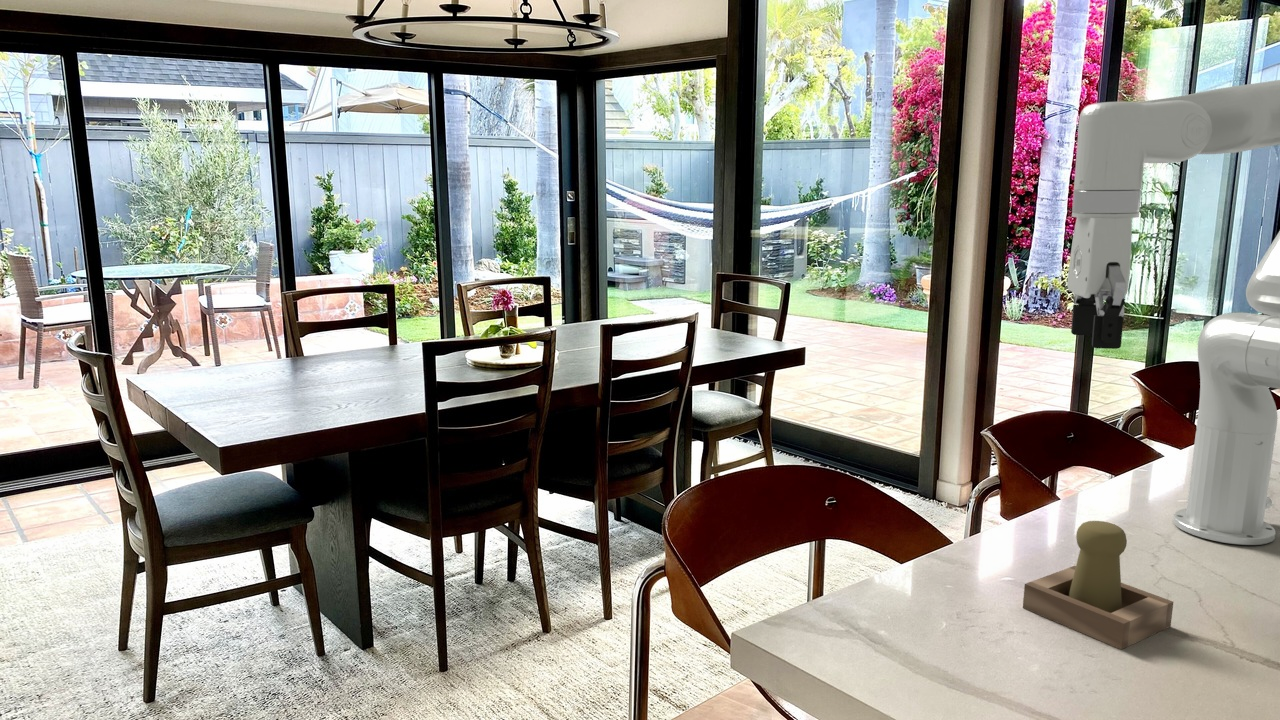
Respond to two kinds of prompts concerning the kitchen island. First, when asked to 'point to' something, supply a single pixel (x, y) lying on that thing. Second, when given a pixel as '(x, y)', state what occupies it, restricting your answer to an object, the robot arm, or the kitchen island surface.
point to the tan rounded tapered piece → (1099, 565)
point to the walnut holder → (1099, 610)
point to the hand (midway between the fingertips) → (1094, 341)
